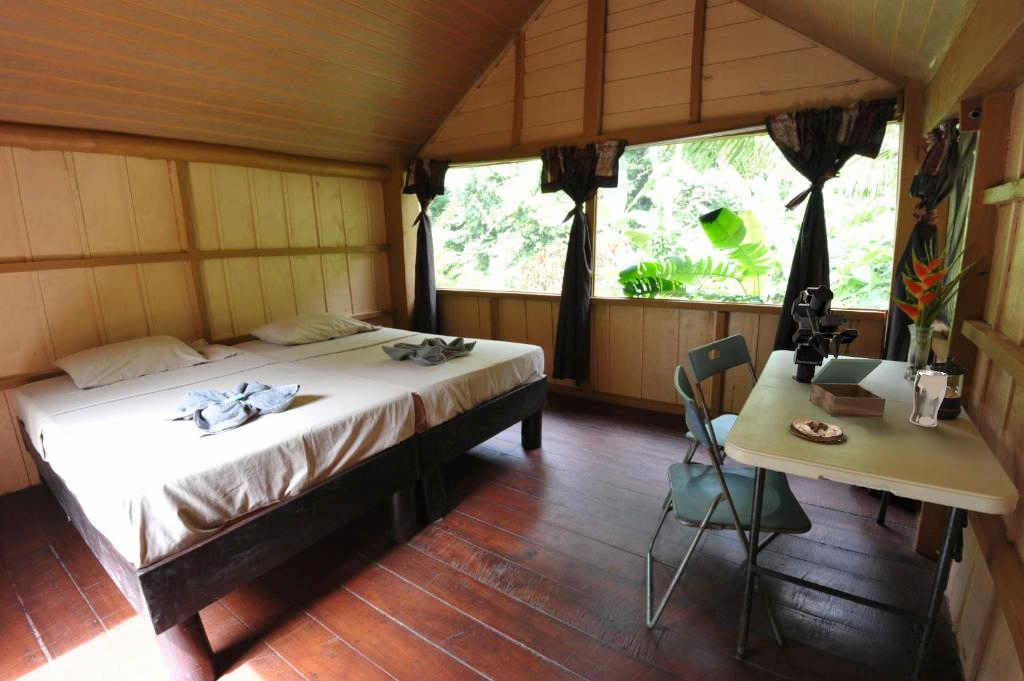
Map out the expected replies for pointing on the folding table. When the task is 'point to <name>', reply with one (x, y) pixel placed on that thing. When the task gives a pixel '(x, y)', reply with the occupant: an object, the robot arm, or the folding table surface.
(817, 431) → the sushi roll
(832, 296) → the robot arm
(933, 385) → the beer glass
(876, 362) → the lid
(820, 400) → the walnut box
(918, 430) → the folding table surface
